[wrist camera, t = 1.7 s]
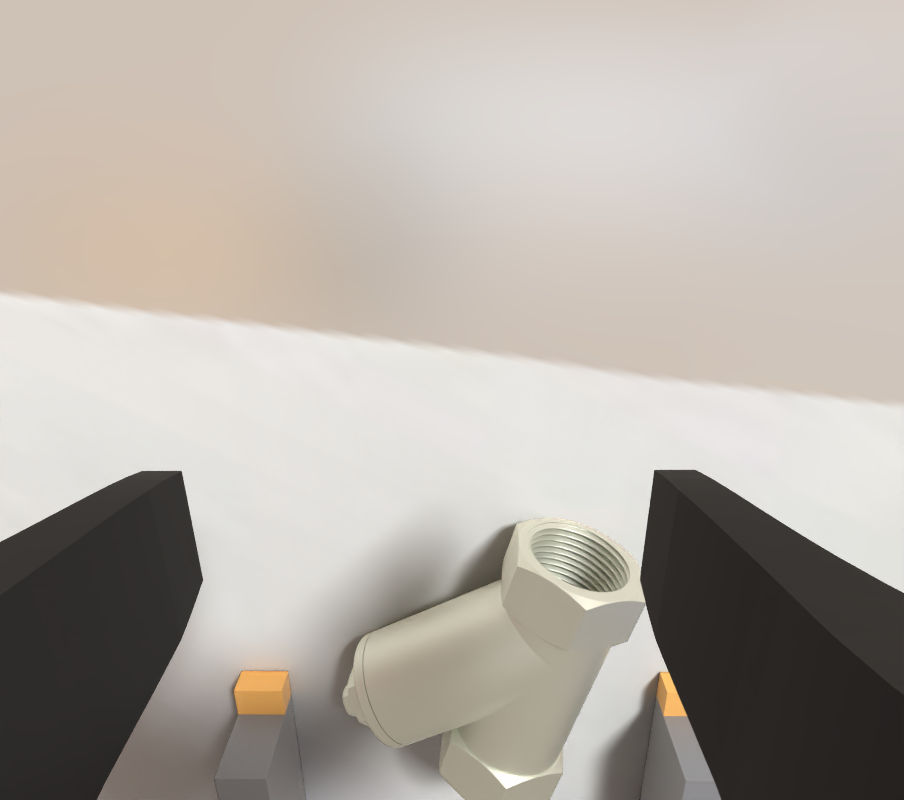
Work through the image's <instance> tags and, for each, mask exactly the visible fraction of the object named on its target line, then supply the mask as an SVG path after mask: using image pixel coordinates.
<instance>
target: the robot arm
mask: <svg viewBox="0 0 904 800" xmlns="http://www.w3.org/2000/svg"><path fill="white" fill-rule="evenodd" d="M202 581H203V578H202V572H201V567H200V562H199V557H198V552H197V547H196V542H195V537H194V532H193V527H192V521H191V516H190V511H189V506H188V501H187V496H186V491H185V486H184V481H183V476H182V471H141V472H139V473H136V474H134V475H131V476H128V477H126V478H124V479H122V480H120V481H117V482H115V483H113V484H111V485H109V486H107V487H105V488H103V489H101V490H99V491H97V492H95V493H93V494H91V495H89V496H87V497H86V498H84V499H82V500H80V501H78V502H76V503H74V504H72V505H70V506H68V507H66V508H65V509H63V510H61V511H59V512H57V513H55V514H53V515H51V516H49V517H47V518H46V519H44V520H42V521H40V522H38V523H36V524H34V525H32V526H30V527H28V528H27V529H25V530H23V531H21V532H19V533H17V534H15V535H13V536H11V537H9V538H7V539H5V540H3V541H1V542H0V800H97V798H98V796H99V794H100V792H101V790H102V788H103V785H104V783H105V781H106V780H107V778H108V776H109V774H110V772H111V770H112V768H113V767H114V765H115V763H116V761H117V759H118V757H119V755H120V754H121V752H122V750H123V748H124V746H125V744H126V742H127V741H128V739H129V737H130V735H131V733H132V731H133V729H134V728H135V726H136V724H137V722H138V720H139V718H140V716H141V715H142V713H143V711H144V709H145V707H146V705H147V703H148V702H149V700H150V698H151V696H152V694H153V692H154V691H155V689H156V687H157V685H158V683H159V681H160V679H161V677H162V675H163V673H164V672H165V670H166V668H167V666H168V664H169V662H170V660H171V658H172V656H173V655H174V653H175V651H176V649H177V647H178V645H179V643H180V641H181V639H182V636H183V634H184V631H185V628H186V626H187V623H188V621H189V618H190V616H191V613H192V610H193V607H194V604H195V602H196V599H197V596H198V593H199V590H200V587H201V584H202ZM640 582H641V586H642V590H643V594H644V598H645V602H646V606H647V610H648V614H649V618H650V621H651V625H652V628H653V632H654V635H655V639H656V642H657V644H658V647H659V649H660V652H661V654H662V657H663V659H664V662H665V664H666V666H667V669H668V671H669V674H670V676H671V679H672V681H673V684H674V686H675V688H676V691H677V693H678V696H679V698H680V700H681V703H682V705H683V708H684V710H685V712H686V715H687V717H688V719H689V722H690V724H691V727H692V729H693V731H694V734H695V736H696V739H697V741H698V743H699V746H700V748H701V751H702V753H703V755H704V758H705V760H706V763H707V765H708V767H709V770H710V772H711V774H712V777H713V779H714V782H715V784H716V787H717V789H718V792H719V795H720V798H721V800H904V593H903V592H901V591H899V590H897V589H895V588H893V587H891V586H889V585H887V584H885V583H884V582H882V581H880V580H878V579H876V578H875V577H873V576H871V575H869V574H867V573H866V572H864V571H862V570H860V569H859V568H857V567H855V566H853V565H851V564H850V563H848V562H846V561H844V560H842V559H841V558H839V557H837V556H835V555H834V554H832V553H830V552H829V551H827V550H825V549H824V548H822V547H820V546H819V545H817V544H815V543H814V542H812V541H810V540H809V539H807V538H805V537H804V536H802V535H800V534H799V533H797V532H796V531H794V530H792V529H791V528H789V527H788V526H786V525H784V524H783V523H781V522H780V521H778V520H776V519H775V518H773V517H772V516H770V515H769V514H767V513H765V512H764V511H762V510H761V509H759V508H758V507H756V506H754V505H753V504H751V503H750V502H748V501H747V500H745V499H743V498H742V497H740V496H739V495H737V494H736V493H734V492H732V491H731V490H729V489H728V488H726V487H724V486H723V485H721V484H720V483H718V482H716V481H715V480H713V479H711V478H709V477H708V476H706V475H704V474H702V473H700V472H698V471H696V470H654V478H653V485H652V493H651V500H650V508H649V515H648V523H647V530H646V538H645V545H644V552H643V560H642V567H641V575H640Z"/></svg>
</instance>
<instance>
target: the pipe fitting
mask: <svg viewBox="0 0 904 800" xmlns="http://www.w3.org/2000/svg"><path fill="white" fill-rule="evenodd" d="M640 575H641V571H640V569H639V566H638V564H637V562H636V560H635V559H634V557H633V556H632V555H631V554H630V553H629V552H628V551H626V550H625V549H624V548H623V547H622V546H620V545H619V544H618V543H617V542H615V541H614V540H612V539H611V538H609V537H608V536H606V535H605V534H603V533H601V532H599V531H597V530H595V529H593V528H591V527H589V526H586V525H584V524H581V523H578V522H574V521H570V520H566V519H561V518H540V519H533V520H528V521H524V522H520V523H517V524H516V527H515V530H514V533H513V535H512V538H511V541H510V543H509V546H508V549H507V551H506V554H505V557H504V560H503V567H502V579H500V580H498V581H495V582H493V583H490V584H488V585H486V586H483V587H481V588H478V589H476V590H474V591H471V592H469V593H466V594H464V595H461V596H459V597H457V598H454V599H452V600H449V601H447V602H444V603H442V604H439V605H437V606H435V607H432V608H430V609H427V610H425V611H422V612H420V613H417V614H415V615H412V616H410V617H408V618H405V619H403V620H400V621H398V622H395V623H393V624H390V625H388V626H385V627H383V628H380V629H378V630H376V631H373V632H371V633H368V634H366V635H365V636H364V637H363V638H362V639H361V640H360V642H359V644H358V646H357V648H356V652H355V656H354V665H353V669H352V671H351V673H350V676H349V680H348V685H346V687H345V689H344V691H343V696H342V698H343V704H344V707H345V709H346V711H347V713H348V714H349V715H350V716H354V717H357V719H358V721H359V722H360V723H361V724H363V725H366V726H369V727H370V729H371V731H372V732H373V733H374V735H375V736H376V737H377V738H378V739H379V740H380V741H381V742H382V743H384V744H385V745H387V746H389V747H392V748H401V747H404V746H407V745H409V744H412V743H415V742H418V741H421V740H424V739H427V738H429V737H432V736H435V735H438V734H441V733H443V735H442V742H441V751H440V761H439V773H440V774H441V775H442V777H443V778H444V779H445V780H446V781H447V782H448V783H449V785H450V786H451V787H452V788H453V789H454V790H455V791H456V792H457V793H458V794H460V795H461V796H462V797H463V798H464V799H465V800H550V798H551V796H552V794H553V792H554V790H555V788H556V786H557V784H558V782H559V780H560V778H561V776H562V774H563V746H564V744H565V742H566V740H567V738H568V736H569V733H570V731H571V729H572V727H573V725H574V723H575V721H576V719H577V717H578V715H579V713H580V710H581V708H582V706H583V704H584V702H585V700H586V698H587V696H588V694H589V692H590V690H591V688H592V685H593V683H594V681H595V679H596V677H597V675H598V673H599V671H600V669H601V667H602V665H603V663H604V660H605V658H606V656H607V654H608V652H609V650H610V648H611V647H612V646H615V645H618V644H621V643H623V642H626V641H628V639H629V637H630V635H631V633H632V631H633V629H634V627H635V625H636V623H637V621H638V619H639V617H640V615H641V613H642V611H643V608H644V606H645V604H646V602H645V598H644V594H643V590H642V586H641V582H640Z"/></svg>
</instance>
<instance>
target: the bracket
mask: <svg viewBox="0 0 904 800" xmlns="http://www.w3.org/2000/svg"><path fill="white" fill-rule="evenodd" d="M234 695H235V700H236V705H237V711H238V716H237V719H236V721H235V724H234V727H233V729H232V732H231V735H230V737H229V740H228V743H227V745H226V748H225V751H224V753H223V756H222V759H221V761H220V764H219V767H218V769H217V772H216V775H215V777H214V781H215V785H216V790H217V794H218V799H219V800H306V796H305V789H304V782H303V775H302V768H301V761H300V754H299V747H298V740H297V733H296V725H295V718H294V711H293V704H292V697H291V690H290V683H289V676H288V671H242V672H241V674H240V677H239V679H238V682H237V684H236V687H235V689H234ZM640 800H721V798H720V795H719V792H718V789H717V787H716V784H715V782H714V779H713V777H712V774H711V772H710V770H709V767H708V765H707V763H706V760H705V758H704V755H703V753H702V751H701V748H700V746H699V743H698V741H697V739H696V736H695V734H694V731H693V729H692V727H691V724H690V722H689V719H688V717H687V715H686V712H685V710H684V708H683V705H682V703H681V700H680V698H679V696H678V693H677V691H676V688H675V686H674V684H673V681H672V679H671V676H670V674H669V673H660V676H659V682H658V689H657V695H656V701H655V708H654V714H653V720H652V727H651V733H650V739H649V746H648V752H647V758H646V764H645V771H644V777H643V783H642V790H641V796H640Z"/></svg>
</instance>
